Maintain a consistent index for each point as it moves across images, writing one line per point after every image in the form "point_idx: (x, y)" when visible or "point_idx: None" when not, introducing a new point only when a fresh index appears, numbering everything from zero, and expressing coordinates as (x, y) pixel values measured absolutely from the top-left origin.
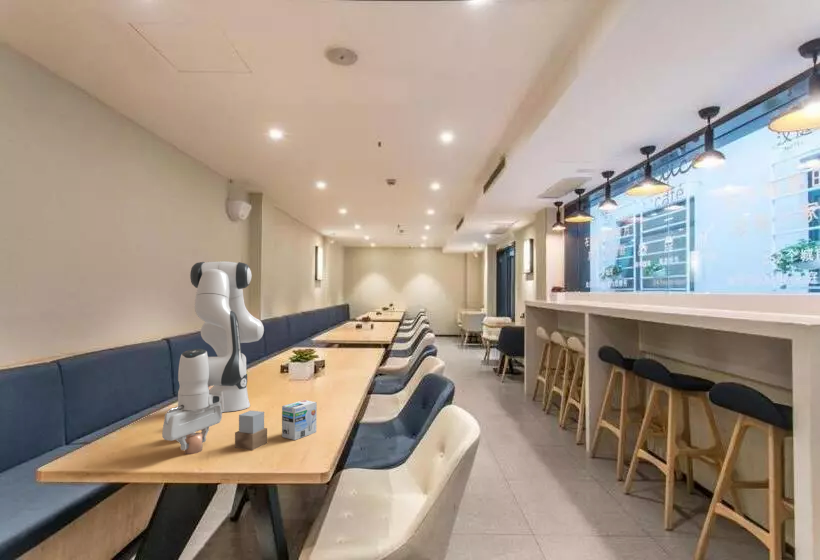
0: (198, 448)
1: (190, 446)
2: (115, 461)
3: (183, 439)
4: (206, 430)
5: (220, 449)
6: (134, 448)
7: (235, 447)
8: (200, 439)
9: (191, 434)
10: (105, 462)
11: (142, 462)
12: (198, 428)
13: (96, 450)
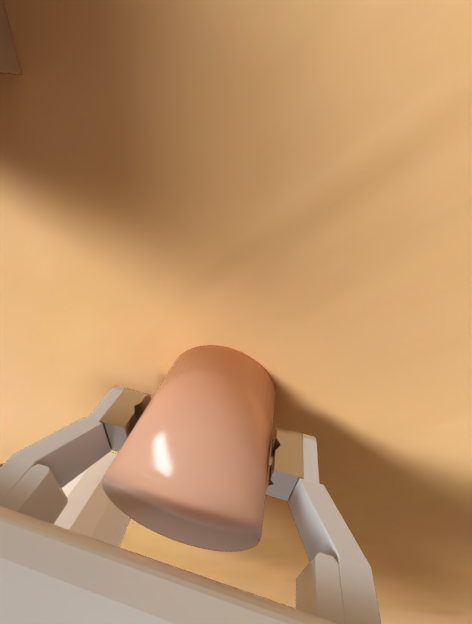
0: (229, 370)
1: (268, 430)
2: (391, 575)
3: (359, 569)
4: (37, 468)
5: (127, 215)
6: (251, 553)
7: (15, 63)
8: (183, 426)
9: (172, 525)
10: (400, 589)
11: (420, 522)
12: (120, 611)
13: (285, 599)
